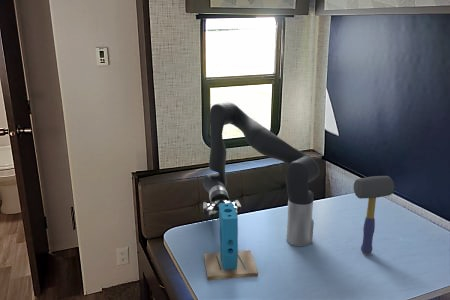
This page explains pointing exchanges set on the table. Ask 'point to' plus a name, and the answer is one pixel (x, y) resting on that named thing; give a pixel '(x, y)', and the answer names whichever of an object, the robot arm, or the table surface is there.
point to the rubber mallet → (371, 203)
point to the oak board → (243, 270)
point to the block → (228, 235)
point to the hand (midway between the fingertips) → (223, 216)
